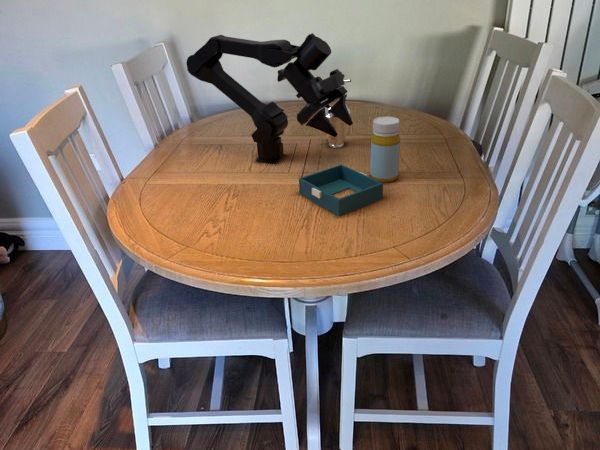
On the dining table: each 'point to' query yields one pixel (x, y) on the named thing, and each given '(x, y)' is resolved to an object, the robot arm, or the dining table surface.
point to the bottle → (385, 149)
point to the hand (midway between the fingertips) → (344, 130)
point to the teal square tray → (340, 189)
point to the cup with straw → (337, 128)
